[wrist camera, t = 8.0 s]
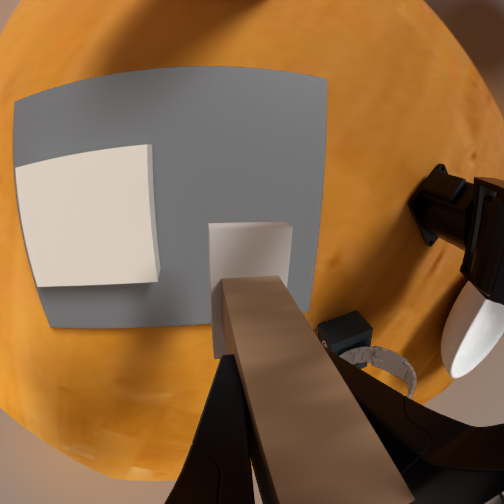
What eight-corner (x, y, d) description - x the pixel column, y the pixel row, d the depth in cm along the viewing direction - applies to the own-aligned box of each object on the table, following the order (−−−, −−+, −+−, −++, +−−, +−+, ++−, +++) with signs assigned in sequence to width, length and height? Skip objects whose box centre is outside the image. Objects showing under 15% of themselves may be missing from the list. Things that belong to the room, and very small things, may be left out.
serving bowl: (438, 265, 26) (479, 291, 20) (506, 226, 29) (535, 241, 23) (412, 374, 35) (435, 400, 29) (482, 322, 37) (503, 340, 31)
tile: (147, 144, 13) (15, 167, 11) (157, 281, 16) (37, 286, 14) (152, 144, 15) (31, 164, 13) (160, 266, 18) (49, 273, 16)
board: (317, 82, 16) (327, 78, 15) (302, 302, 23) (308, 312, 22) (25, 103, 12) (14, 101, 10) (56, 317, 18) (50, 327, 17)
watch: (298, 330, 24) (353, 422, 14) (370, 305, 25) (438, 374, 15) (301, 368, 27) (344, 450, 17) (366, 343, 28) (420, 410, 18)
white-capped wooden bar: (286, 221, 11) (495, 435, 2) (274, 341, 13) (356, 529, 4) (208, 223, 10) (288, 552, 1) (213, 347, 12) (255, 557, 3)
